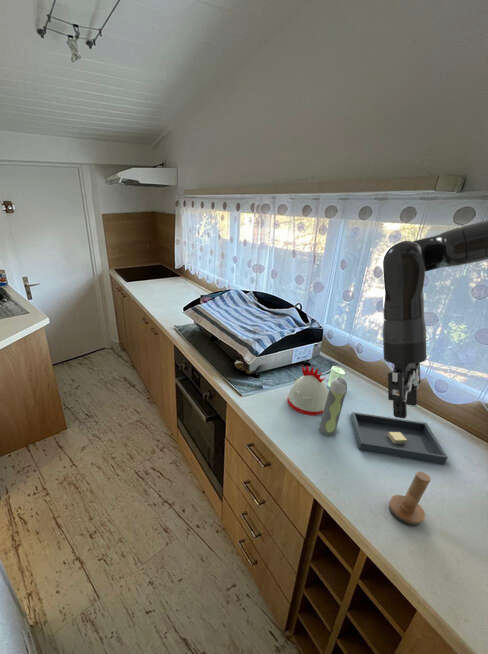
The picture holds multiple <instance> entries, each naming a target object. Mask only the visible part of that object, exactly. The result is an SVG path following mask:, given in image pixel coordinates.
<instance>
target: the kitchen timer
mask: <svg viewBox="0 0 488 654" xmlns="http://www.w3.org/2000/svg"><path fill="white" fill-rule="evenodd" d="M301 371H302V376H300V377H299V378H297V379H295V380H294V383H293V384H292V385H291V388H290V389H289V392H288V395H287V404H288V405H289V407H290V408H291V409H293V410H294V411H295V412H297V413H300V414H302V415H307V416H313V417H315V416H318V415H321V414H323V411H324V407H325V404H326V400H327V396H328V393H329V390H328V386H327V385H326V383H325V381H324V380H325V379H326V376H324V377H323V378H321V376H322V375H323V373H322V372H320V373H319V368H316V369H315V370H314V366H312V367H311V369H310V367H309V365H306V366H305V367H304V366H302V367H301Z"/></svg>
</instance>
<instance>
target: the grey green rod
mask: <svg viewBox="0 0 488 654" xmlns="http://www.w3.org/2000/svg"><path fill="white" fill-rule="evenodd" d="M347 390H348V384H347V381H346V380H345V378H344V379H343V378H340V377H339V378H335V379H333V380H332V383H331V387H329V390H328V396H327V400H326V404H325V407H324V411H323V413H322V415H321V419H320V422H319V425H318V432H319V433H321V434H322V435H323V436H326V437H333V436H335V434H336V432H337V428H338V425H339V420H340V416H341V412H342V408H343V405H344V403H345V397H346V394H347Z"/></svg>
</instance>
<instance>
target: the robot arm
mask: <svg viewBox="0 0 488 654" xmlns="http://www.w3.org/2000/svg"><path fill="white" fill-rule="evenodd" d="M484 261H488V219H487V220H482V221H479V222H476V223H472V224H467V225H463V226H459V227H456V228H453V229H449V230H447V231H444V232H441V233H440V234H437V235H433V236H430V237H429V236H428V237H424V238H419V239H417V240H413V241H412V240H402V241H399V242H396V243H394V244H392V245H391V246H390V247H388V248H387V249H386V251H385V252H384V253H383V255H382V257H381V260H380V267H381V270H382V276H383V290H384V296H383V300H382V303H383V304H382V310H383V313H382V314H383V325H382V346H383V347H382V348H383V360H384V361H385V362H386V363H389V364H392V365H393V369H392V370H391V371H388V373H387V389H388V390H387V391H388V397H387V399H388V401H392V409H393V413H392V414H393V417H394V418H396V419H406V418H407V416H408V414H407V413H408V412H407V411H408V410H407V406H414V407H415V406H417V405H418V389H419V387H420V385H421V382H422V380H421V364H422V363H424V362H425V361H426V360H427V326H426V321H425V298H424V286H425V277H426V272H429V271H435V270H437V269H442V268H454V267H459V266H464V265H469V264H475V263H480V262H484ZM398 392H399V393H398ZM397 393H398V394H399V395H398V394H397Z"/></svg>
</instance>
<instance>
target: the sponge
mask: <svg viewBox="0 0 488 654" xmlns="http://www.w3.org/2000/svg"><path fill="white" fill-rule="evenodd" d="M243 366H244V365H243V362H241V361H238V360H237V359H236V361H235V362H234V367H236V369H237V370H239V371H241V372H245V374H248V375H250V374H251V375H252V373H253V372H249V371H248V370H246V369H245V368H244V367H243Z"/></svg>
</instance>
